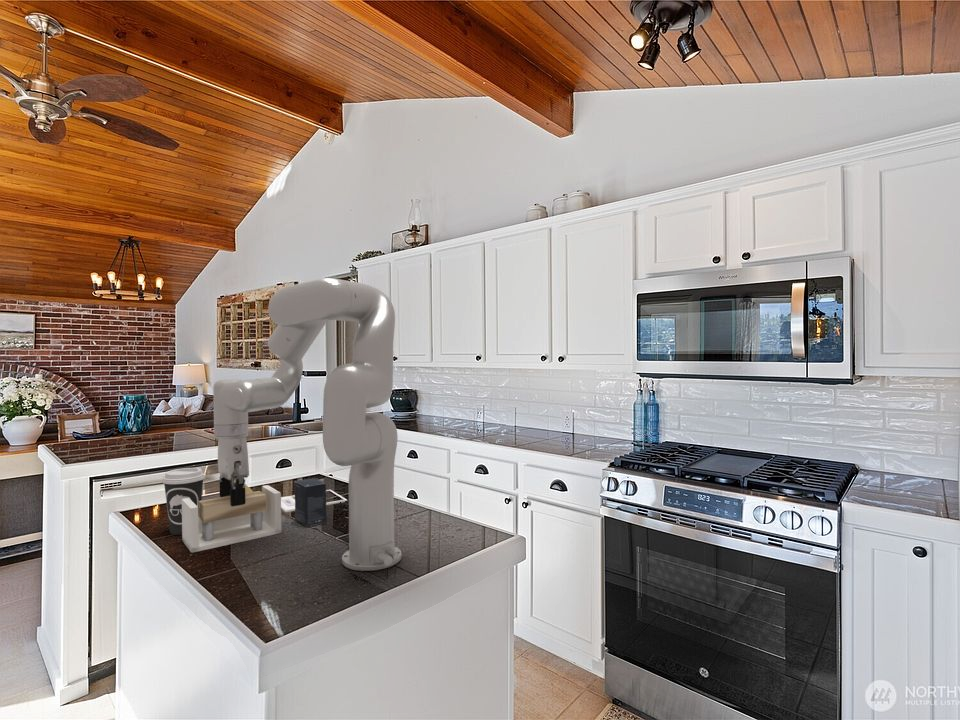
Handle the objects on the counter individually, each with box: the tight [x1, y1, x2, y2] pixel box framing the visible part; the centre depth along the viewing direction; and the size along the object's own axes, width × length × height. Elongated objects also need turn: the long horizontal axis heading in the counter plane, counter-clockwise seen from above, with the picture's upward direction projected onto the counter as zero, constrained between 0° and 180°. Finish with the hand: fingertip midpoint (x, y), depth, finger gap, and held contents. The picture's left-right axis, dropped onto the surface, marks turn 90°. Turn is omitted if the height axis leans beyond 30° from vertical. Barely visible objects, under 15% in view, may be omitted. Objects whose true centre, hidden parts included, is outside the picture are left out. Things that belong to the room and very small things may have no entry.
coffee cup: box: [161, 467, 206, 536], centre depth 134 cm, size 10×10×15 cm
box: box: [294, 478, 327, 528], centre depth 140 cm, size 8×6×11 cm
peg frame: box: [181, 484, 282, 554], centre depth 129 cm, size 10×20×10 cm, turn 130°
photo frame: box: [281, 489, 348, 513], centre depth 160 cm, size 15×1×18 cm
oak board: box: [199, 490, 266, 523], centre depth 129 cm, size 5×14×4 cm, turn 130°
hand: (232, 500), depth 129 cm, fingers open, 9 cm apart
